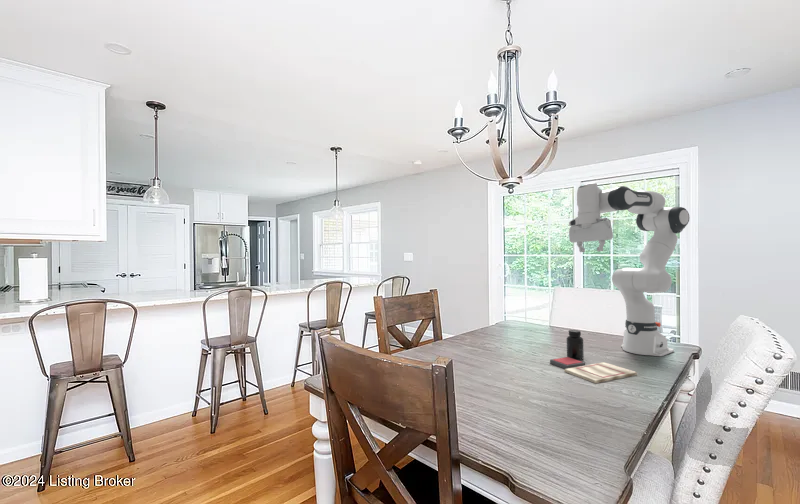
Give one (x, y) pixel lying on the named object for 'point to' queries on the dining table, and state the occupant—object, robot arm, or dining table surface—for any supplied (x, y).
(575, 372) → the marked board
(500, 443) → the dining table surface
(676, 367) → the dining table surface
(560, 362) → the ink pad
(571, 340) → the supplement bottle
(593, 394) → the dining table surface
